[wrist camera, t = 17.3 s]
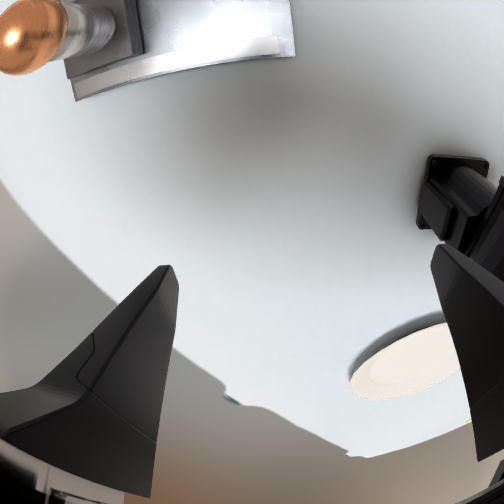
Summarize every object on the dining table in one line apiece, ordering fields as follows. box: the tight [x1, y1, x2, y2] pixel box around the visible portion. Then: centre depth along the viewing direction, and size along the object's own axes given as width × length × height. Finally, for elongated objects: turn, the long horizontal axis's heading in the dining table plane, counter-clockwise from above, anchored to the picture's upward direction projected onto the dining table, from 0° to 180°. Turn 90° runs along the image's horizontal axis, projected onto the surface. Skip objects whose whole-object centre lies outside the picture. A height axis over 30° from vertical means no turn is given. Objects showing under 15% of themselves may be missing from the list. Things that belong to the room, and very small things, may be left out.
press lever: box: [0, 0, 144, 79], centre depth 8 cm, size 4×5×9 cm
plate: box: [350, 322, 460, 400], centre depth 35 cm, size 21×21×2 cm
